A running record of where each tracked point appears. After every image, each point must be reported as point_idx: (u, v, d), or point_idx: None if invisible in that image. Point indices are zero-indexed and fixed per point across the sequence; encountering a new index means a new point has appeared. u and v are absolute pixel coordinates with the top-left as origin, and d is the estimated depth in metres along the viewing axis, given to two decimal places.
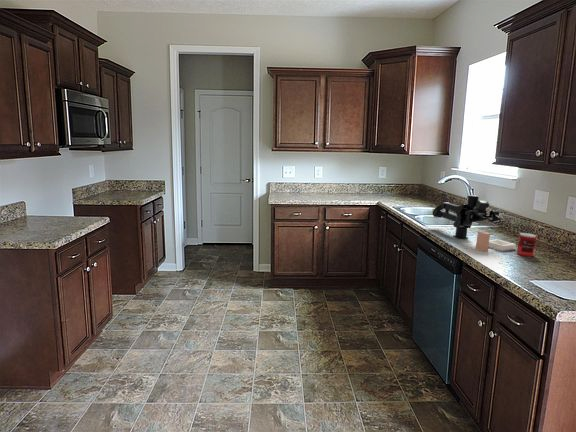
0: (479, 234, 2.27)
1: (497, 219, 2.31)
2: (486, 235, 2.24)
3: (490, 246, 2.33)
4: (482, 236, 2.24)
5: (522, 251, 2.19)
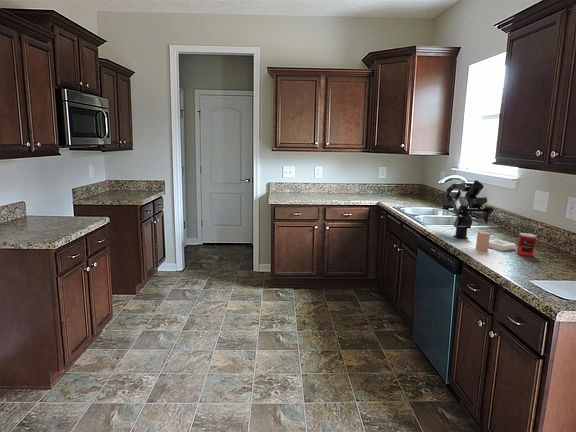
0: (479, 234, 2.27)
1: (485, 220, 2.34)
2: (486, 235, 2.24)
3: (490, 246, 2.33)
4: (482, 236, 2.24)
5: (522, 251, 2.19)
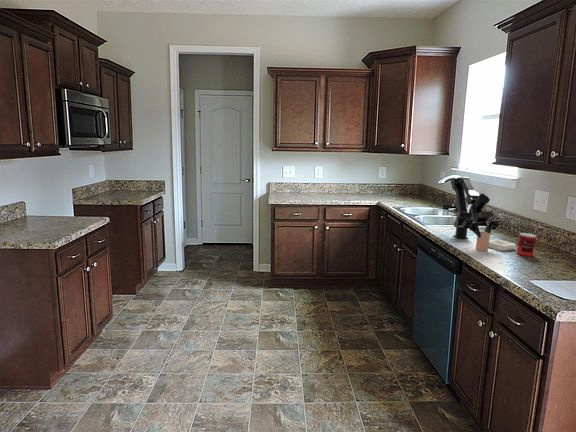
0: None
1: None
2: (486, 235, 2.24)
3: (490, 246, 2.33)
4: (482, 236, 2.24)
5: (522, 251, 2.19)
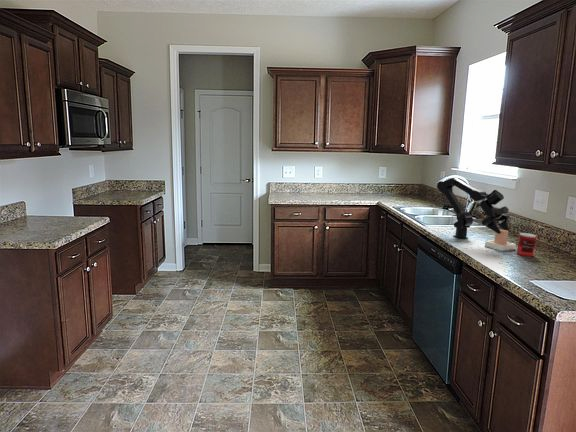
0: None
1: (505, 229, 2.35)
2: (506, 232, 2.31)
3: (490, 246, 2.33)
4: (503, 234, 2.30)
5: (522, 251, 2.19)
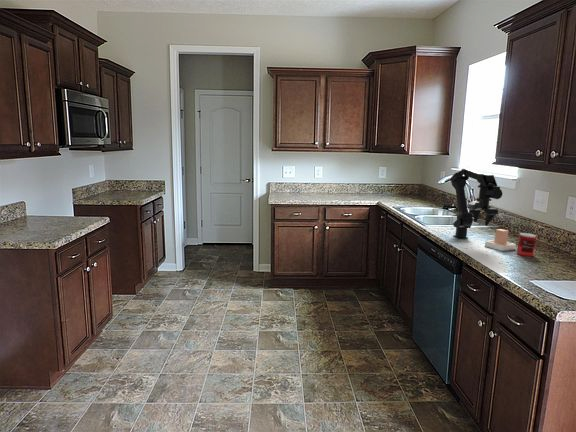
0: (499, 232, 2.31)
1: None
2: (506, 232, 2.31)
3: (490, 246, 2.33)
4: (503, 234, 2.30)
5: (522, 251, 2.19)
